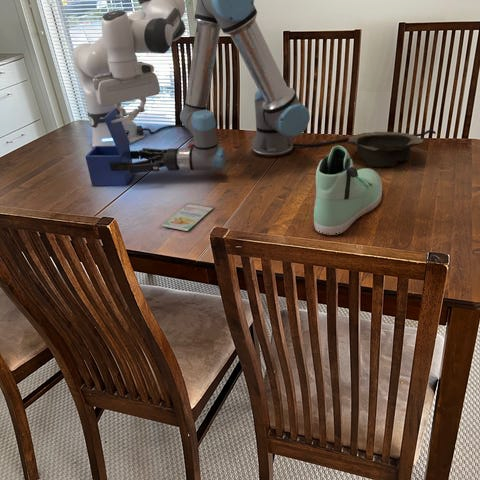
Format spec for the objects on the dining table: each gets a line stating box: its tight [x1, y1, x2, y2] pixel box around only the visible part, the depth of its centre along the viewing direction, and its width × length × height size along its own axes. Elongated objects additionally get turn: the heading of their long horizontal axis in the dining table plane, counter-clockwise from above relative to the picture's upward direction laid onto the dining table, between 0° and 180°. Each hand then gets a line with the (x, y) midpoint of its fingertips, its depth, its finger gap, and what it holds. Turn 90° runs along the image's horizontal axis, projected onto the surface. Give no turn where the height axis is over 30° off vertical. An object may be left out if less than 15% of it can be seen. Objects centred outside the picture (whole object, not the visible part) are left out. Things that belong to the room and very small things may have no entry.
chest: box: [85, 145, 135, 187], centre depth 166 cm, size 12×10×11 cm
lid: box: [104, 108, 140, 155], centre depth 158 cm, size 13×10×9 cm
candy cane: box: [186, 141, 195, 148], centre depth 187 cm, size 6×15×2 cm, turn 145°
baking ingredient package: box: [160, 203, 214, 232], centre depth 141 cm, size 9×1×15 cm
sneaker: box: [313, 145, 383, 236], centre depth 133 cm, size 14×35×20 cm, turn 152°
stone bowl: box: [347, 131, 425, 168], centre depth 166 cm, size 25×25×9 cm
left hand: (132, 114), depth 155 cm, fingers open, 5 cm apart
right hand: (115, 160), depth 165 cm, fingers closed on chest, 9 cm apart
